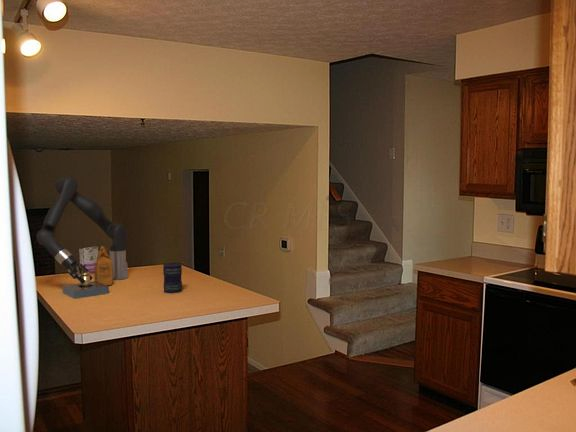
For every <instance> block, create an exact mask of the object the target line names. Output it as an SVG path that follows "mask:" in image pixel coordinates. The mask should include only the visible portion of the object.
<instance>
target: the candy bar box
mask: <svg viewBox="0 0 576 432" xmlns="http://www.w3.org/2000/svg"><path fill="white" fill-rule="evenodd" d="M78 251H79V252H78V253H79V265H80V264H82V265H83V266H84V267H86V268H87V269H88V270H89V272H91V274H94V273H95V265H96V259H97V256H98V254H99V251H100V248H99V246H89V247H83V248H79V250H78Z"/></svg>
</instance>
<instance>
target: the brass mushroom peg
mask: <svg viewBox="0 0 576 432" xmlns="http://www.w3.org/2000/svg"><path fill="white" fill-rule="evenodd" d="M79 274H80V276H81V277H82V278H83V279H84V280H85V282H84V283H83V284H82V283H81V282H80V281H79V283H80V284H81V288H84V287H90V282H91V280H90V275H91V274H92V273H91V272H81V273H79Z"/></svg>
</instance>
